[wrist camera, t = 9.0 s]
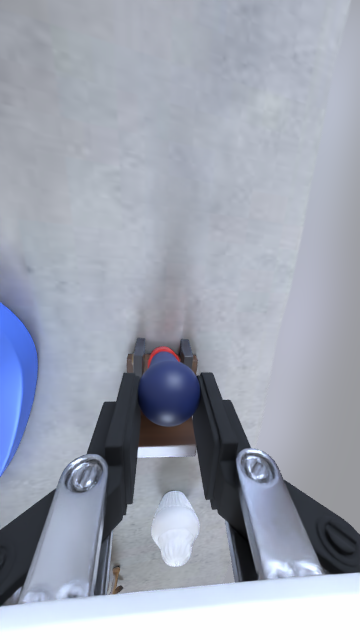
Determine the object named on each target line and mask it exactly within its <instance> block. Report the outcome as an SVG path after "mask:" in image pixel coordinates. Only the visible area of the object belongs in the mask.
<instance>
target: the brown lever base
mask: <svg viewBox="0 0 360 640" xmlns="http://www.w3.org/2000/svg"><path fill="white" fill-rule="evenodd" d="M150 355H151V354H145V338H137V342H136V346H135V351H134V354H128V358H127V373H136V376H140V379H141V377H142V376H143V374H144V373H145V371H146V370H147V369H148V360H149V357H150ZM177 356H178V358H179V361H180V362H181V363H183V364H185V365H186V366H188V367H189V368H190V369H191V370H192V371H193V372H194V373H195V375H196V371H197V358H196V355H193V354H192V350H191V347H190V343H189V340H188V339H181V347H180V355H177ZM195 455H196V441H195V435H194V429H193V420H192V416H191V417H190V418H189V419H188V420H187V421H185V422H184V423H182V424H180V425H177V426H172V427H165V426H160V425H157V424H155V423H153V422H152V421H150V420H149V419H148V418H147V417H146V416H145V415H144V414H143V412H142V411H141V424H140V435H139V445H138V455H137V458H149V457H187V456H195Z"/></svg>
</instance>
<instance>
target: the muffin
mask: <svg viewBox="0 0 360 640" xmlns="http://www.w3.org/2000/svg"><path fill="white" fill-rule="evenodd" d="M199 530H200V523H199V520H198V517H197V516H196V514H195V511H194V509H193V507H192V506H191V504H190V503H189V501H188V499H187V498H186V496H185V494H183V493H182V492H180V491H170V492H168V493H166V494H165V495H164V496H163V498H162V500H161V502H160V504H159V506H158V509H157V511H156V513H155V515H154V520H153V523H152V528H151V534H152V538H153V540H154V541H155V543H156V544H157V545H158V546H159V548H160V550H161V555H162V558H163V560H164V562H165V563H166V564H167V565H170V566H175V567H176V566H180V565H184V563H186V562H187V561H188V560H189V558H190V557H191V552H192V548H191V547H192V546H193V542H194V541H195V539H196V538H197V536H198V534H199Z"/></svg>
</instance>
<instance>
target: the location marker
mask: <svg viewBox="0 0 360 640" xmlns="http://www.w3.org/2000/svg"><path fill="white" fill-rule="evenodd" d="M37 372H38V359H37V352H36V348H35V344H34V342H33V339H32V337H31V335H30V334H29V332H28V330H27V329H26V327H25V326H24V325H23V323H22V322H21V321H20V320H19V319H18V317H17V316H16V315H15V314H14V313H13V312H11V311H10V310H9V309H8V308H7V307H6V306H4V305H3V304H2V303H0V477H1V476H2V474H3V473H4V471H5V469H6V468H7V466H8V465H9V463H10V462H11V460H12V458H13V456H14V454H15V452H16V450H17V448H18V446H19V444H20V441H21V439H22V436H23V433H24V431H25V428H26V425H27V422H28V419H29V415H30V411H31V408H32V404H33V400H34V395H35V389H36V382H37Z"/></svg>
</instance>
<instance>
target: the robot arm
mask: <svg viewBox="0 0 360 640" xmlns="http://www.w3.org/2000/svg"><path fill="white" fill-rule="evenodd" d="M197 379H198V381H199V384H200V393H201V395H200V402H199V405H198V407H197V409H196V411H195V413H194V414H193V429H194V435H195V441H196V447H197V453H198V459H199V465H200V471H201V477H202V483H203V489H204V495H205V499H206V500H210V502H211V507H212V510H214V509H217V510H218V514H219V515H221V516H222V517H223V518H224V519H225V526H226V532H227V538H228V544H229V550H230V556H231V562H232V568H233V574H234V580H235V583H227V584H215V585H204V586H194V587H183V588H173V589H162V590H152V591H142V592H131V593H121V594H112V595H107V589H108V579H109V569H110V559H111V549H112V538H113V529H114V528H115V527H116V526H117V525H118V524H119V523H120V522H121V520H122V518H123V515H126V509H127V504H132V503H133V494H134V484H135V474H136V464H137V455H138V445H139V435H140V424H141V408H140V406H139V403H138V385H139V382H140V376H136V373H124V374H123V378H122V382H121V385H120V389H119V393H118V397H117V401H116V402H104V404H103V406H102V409H101V412H100V415H99V418H98V421H97V424H96V427H95V430H94V433H93V436H92V439H91V442H90V445H89V448H88V451H87V454H86V455H83V456H80V457H78V458H76V459H75V460H73V461H72V462H71V463H69V464H68V466H67V467H66V468H65V469H64V471H63V473H62V475H61V477H60V479H59V482H58V485H57V488H56V489H54V490H53V491H52V492H50V493H49V494H48V495H46V496H45V497H44V498H42V499H41V500H40V501H38V502H37V503H36V504H34V505H33V506H32V507H30V508H29V509H28V510H26V511H25V512H24V513H22V514H21V515H20V516H18V517H17V518H16V519H14V520H13V521H12V522H10V523H9V524H8V525H6V526H5V527H4V528H2V529H1V530H0V640H360V534H358V533H357V531H356V530H355V529H354V528H353V527H352V526H351V525H350V524H349V523H347V522H346V521H345V520H344V519H342V518H341V517H339V516H338V515H336V514H335V513H333V512H332V511H330V510H329V509H327V508H326V507H324V506H323V505H321V504H320V503H318V502H317V501H315V500H313V499H312V498H311V497H309V496H308V495H306V494H305V493H303V492H302V491H300V490H299V489H297V488H296V487H294V486H293V485H291V484H290V483H288V482H287V481H285V480H283V477H282V475H281V473H280V470H279V468H278V466H277V464H276V463H275V461H274V460H273V459H272V458H271V457H270V456H269V455H267V454H266V453H265V452H263V451H261V450H258V449H254V448H251V447H250V444H249V442H248V440H247V437H246V435H245V433H244V430H243V428H242V425H241V423H240V421H239V418H238V416H237V414H236V411H235V409H234V407H233V404H232V402H231V401H230V400H223V399H222V397H221V394H220V391H219V389H218V386H217V383H216V381H215V378H214V375H213V373H201V374H200V376H197Z"/></svg>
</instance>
